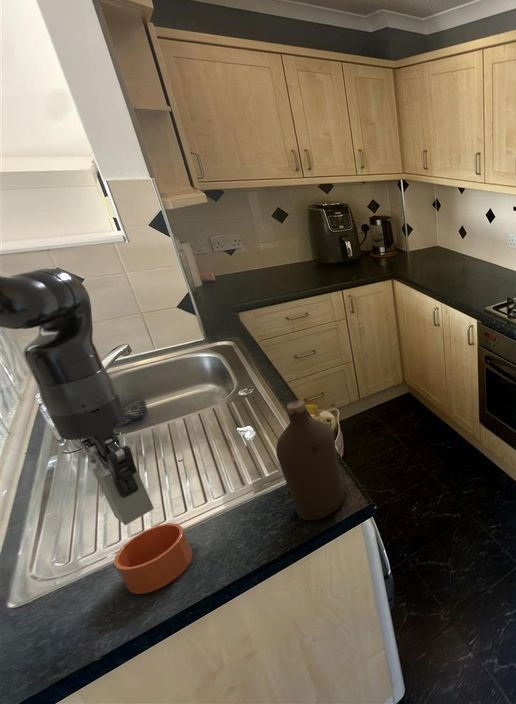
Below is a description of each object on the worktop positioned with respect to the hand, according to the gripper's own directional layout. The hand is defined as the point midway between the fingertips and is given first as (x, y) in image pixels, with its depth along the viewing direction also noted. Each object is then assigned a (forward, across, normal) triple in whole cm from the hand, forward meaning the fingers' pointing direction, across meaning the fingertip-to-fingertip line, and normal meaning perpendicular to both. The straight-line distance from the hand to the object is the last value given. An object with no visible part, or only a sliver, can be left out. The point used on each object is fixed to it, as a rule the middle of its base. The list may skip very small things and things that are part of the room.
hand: (123, 488), depth 68 cm
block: (+5, 0, 0) cm, 5 cm away
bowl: (+19, 0, 0) cm, 19 cm away
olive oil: (+19, +13, +24) cm, 33 cm away
